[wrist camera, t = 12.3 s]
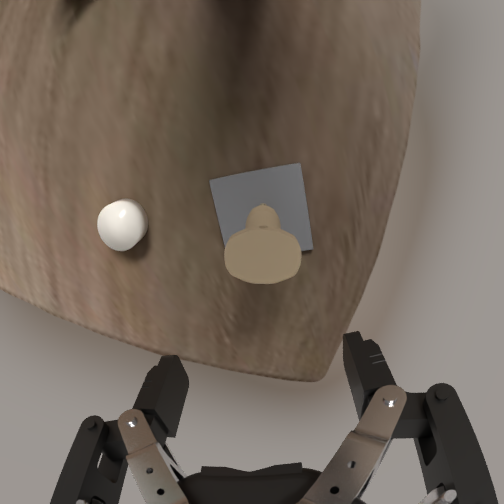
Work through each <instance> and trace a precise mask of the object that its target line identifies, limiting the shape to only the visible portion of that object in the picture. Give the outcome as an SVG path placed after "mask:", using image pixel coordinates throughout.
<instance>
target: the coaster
mask: <svg viewBox="0 0 504 504" xmlns="http://www.w3.org/2000/svg"><path fill="white" fill-rule="evenodd" d="M209 183H210V187H211V191H212V195H213V200H214V204H215V208H216V212H217V216H218V221H219V225H220V229H221V233H222V237H223V241H224V245H225V247H226V244H227V242H228V240H229V238H230V237H231V235H233V234H235V233H237V232H239V231H241V230H243V229H245V226H246V220H247V217H248V215H249V213H250V212H251V210H252V209H253V208H255V207H257V206H259V205H260V204H262V203H264V204H266V205H267V206H269V207H271V208H273V209H274V210H275V212H276V213H277V215H278V217H279V220H280V225H281V229H282V230H284V231H286V232H288V233H290V234H292V235H294V236H295V237H296V239H297V241H298V243H299V245H300V249H301V251H305V250H311V249H313V243H312V236H311V229H310V222H309V215H308V208H307V201H306V195H305V189H304V183H303V177H302V171H301V165H300V163H293V164H287V165H281V166H275V167H270V168H264V169H259V170H253V171H248V172H243V173H238V174H233V175H228V176H224V177H219V178H214V179H210V180H209Z"/></svg>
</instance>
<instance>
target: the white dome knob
mask: <svg viewBox="0 0 504 504" xmlns="http://www.w3.org/2000/svg"><path fill="white" fill-rule="evenodd" d="M147 229H148V218H147V214H146V212H145V210H144V208H143V207H142V206H141V205H140V204H139V203H138V202H136V201H135V200H132V199H127V198H125V199H120V200H118V201H116V202H114V203H111V204H109V205H107V206H106V207H105V208H103V210H102V211H101V212H100V214H99V217H98V231H99V234H100V237H101V238H102V240H103V241H104V243H105V244H106V245H107V246H109V247H110V248H112V249H114V250H117V251H126V250H128V249H130V248H132V247H133V246H134V245H135V244H136V243H137V242H139V241H140V240H141V239H142V238H143V237H144V236H145V234H146V232H147Z"/></svg>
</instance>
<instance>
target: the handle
mask: <svg viewBox="0 0 504 504" xmlns="http://www.w3.org/2000/svg"><path fill="white" fill-rule="evenodd" d="M224 259H225V265H226V268H227V270H228V271H229V273H230V274H231V275H232V276H234V277H236V278H239V279H241V280H243V281H246V282H249V283H255V284H273V283H277V282H280V281H283V280H286V279H288V278H290V277H293V276H294V275H295V274H296V273H297V271H298V269H299V267H300V264H301V249H300V245H299V243H298V241H297V239H296V237H295V236H294V235H292V234H290V233H288V232H286V231H284V230H282V229H281V225H280V220H279V217H278V215H277V213H276V212H275V210H274V209H273V208H271V207H269V206H267V205H266V204H264V203H262V204H260V205H259V206H257V207H255V208H253V209H252V210H251V212H250V213H249V215H248V217H247V220H246V226H245V229H243V230H241V231H239V232H237V233H235V234H233V235H231V237H230V238H229V240H228V242H227V244H226V247H225V252H224Z"/></svg>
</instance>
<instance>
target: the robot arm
mask: <svg viewBox="0 0 504 504" xmlns="http://www.w3.org/2000/svg"><path fill="white" fill-rule="evenodd" d="M343 361H344V367H345V371H346V375H347V378H348V382H349V385H350V389H351V392H352V395H353V400H354V403H355V407H356V411H357V414H358V418H359V423H358V425H357V427H356V428H355V430H354V431H351V432H350V433H349V434H348V435H347V437H346V438H345V440H344V441H343V443H342V445H341V446H340V448H339V449H338V451H337V452H336V454H335V455H334V457H333V458H332V460H331V461H330V462H329V464H328V465H327V467H326V468H325V470H324V471H323V472H320V471H317V470H313V469H307V468H302V463H301V462H300V463H292V464H283V465H274V466H271V467H268V468H264V469H260V470H256V471H252V472H247V471H241V470H236V469H232V468H227V467H207V466H202V468H201V472H200V473H196V474H193V475H190V476H187V475H186V474H185V473H184V471H183V470H182V469H181V467H180V465H179V464H178V462H177V460H176V459H175V457H174V456H173V454H172V452H171V450H170V449H169V447H168V445H167V443H166V442H165V441H166V438H167V437H174V438H175V436H176V432H177V428H178V425H179V421H180V417H181V414H182V410H183V406H184V402H185V398H186V395H187V392H188V388H189V379H188V376H187V373H186V371H185V369H184V367H183V365H182V363H181V361H180V359H179V357H178V356H177V355H168V356H162V357H161V359H160V361H159V364H158V366H154V367H153V368H152V369H151V370H150V371H149V372H148V373H147V376H146V378H145V382H144V383H143V385H142V388H141V390H140V392H139V394H138V397H137V399H136V401H135V404H134V406H133V408H132V409H130V410H127V411H125V412H124V413H122V414H121V415H120V417H119V419H118V420H114V421H107V422H104V421H103V419H101V417H99V416H90V417H88V418H86V419H85V420H84V421H83V422H82V424H81V426H80V429H79V431H78V433H77V435H76V438H75V440H74V442H73V445H72V447H71V449H70V452H69V454H68V457H67V459H66V462H65V464H64V467H63V469H62V472H61V474H60V477H59V480H58V482H57V485H56V488H55V491H54V494H53V496H52V499H51V502H50V504H118V503H119V499H120V495H121V490H122V487H123V483H124V479H125V475H126V471H127V467H128V464H129V467H130V469H131V471H132V474H133V476H134V479H135V481H136V483H137V485H138V487H139V489H140V492H141V494H142V496H143V498H144V500H145V502H146V504H366V503H365V502H363V501H362V500H361V497H362V495H363V494H364V492H365V491H366V489H367V487H368V485H369V484H370V482H371V481H372V479H373V477H374V475H375V473H376V471H377V469H378V467H379V466H380V464H381V462H382V460H383V458H384V456H385V454H386V452H387V450H388V448H389V446H390V444H391V442H392V440H393V438H414V442H415V446H416V449H417V453H418V456H419V460H420V465H421V468H422V473H423V477H424V481H425V485H426V490H427V496H426V497H425V498H424V499H423V500H422V501H421V502H420V503H419V504H498V500H497V497H496V494H495V490H494V486H493V483H492V480H491V477H490V473H489V470H488V468H487V465H486V462H485V459H484V456H483V453H482V451H481V448H480V445H479V443H478V441H477V438H476V435H475V433H474V431H473V428H472V426H471V423H470V421H469V419H468V416H467V414H466V412H465V410H464V408H463V406H462V403H461V401H460V399H459V397H458V395H457V393H456V391H455V389H454V388H453V387H452V386H450V385H448V384H445V383H439V384H435V385H433V386H431V387H430V388H429V389H428V391H427V392H426V393H409V392H405V391H404V390H403V389H402V388H401V387H398V386H397V385H396V383H395V381H394V378H393V376H392V374H391V371H390V369H389V368H388V365H387V363H386V361H385V358H384V356H383V355H382V352H381V350H380V347H379V345H378V344H376V343H375V342H374V341H372V340H371V339H369V340H365V341H363V339H362V337H361V334H360V332H359V331H356V332H351V333H346V334H343ZM101 452H102V453H103V455H102V458H101V461H100V464H99V467H98V468H97V464H98V461H99V458H100V455H101Z"/></svg>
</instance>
